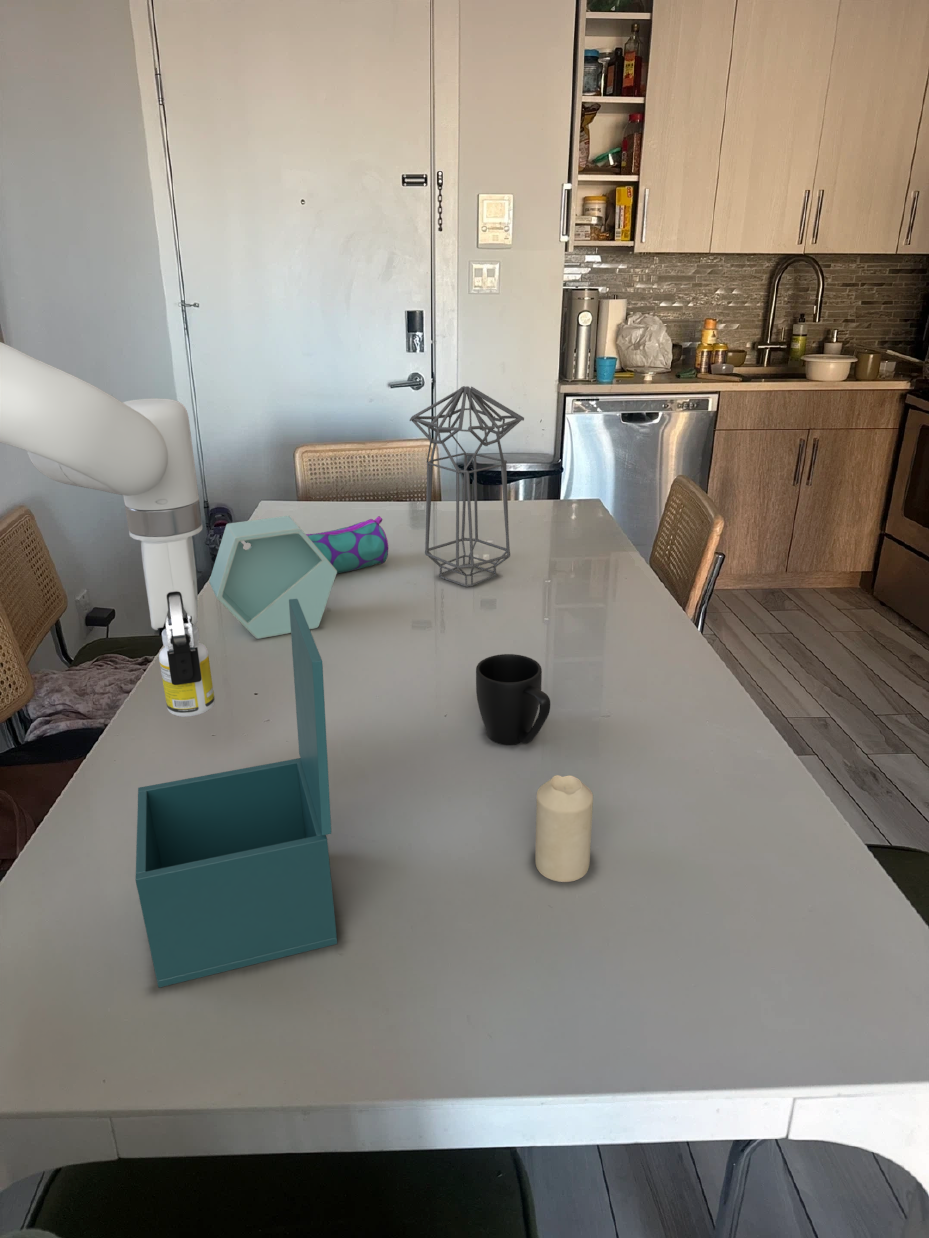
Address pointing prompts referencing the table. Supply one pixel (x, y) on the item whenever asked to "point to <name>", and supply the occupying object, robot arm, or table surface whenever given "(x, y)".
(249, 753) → the table surface
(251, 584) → the planter
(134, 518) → the robot arm
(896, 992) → the table surface
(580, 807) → the candle
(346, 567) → the pencil case
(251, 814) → the teal open box
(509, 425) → the geometric lantern
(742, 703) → the table surface
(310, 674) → the cool box lid
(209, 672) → the supplement bottle
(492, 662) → the mug
